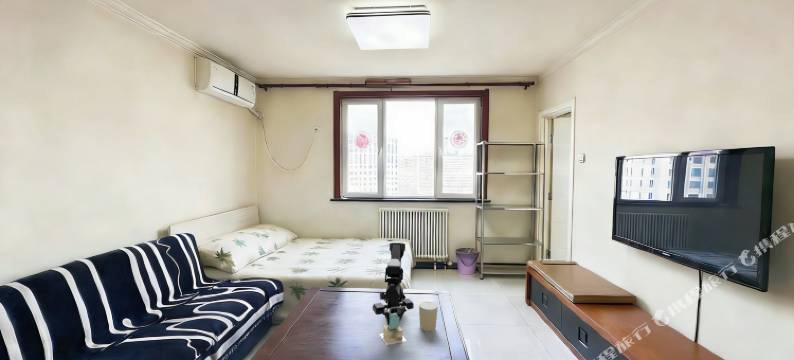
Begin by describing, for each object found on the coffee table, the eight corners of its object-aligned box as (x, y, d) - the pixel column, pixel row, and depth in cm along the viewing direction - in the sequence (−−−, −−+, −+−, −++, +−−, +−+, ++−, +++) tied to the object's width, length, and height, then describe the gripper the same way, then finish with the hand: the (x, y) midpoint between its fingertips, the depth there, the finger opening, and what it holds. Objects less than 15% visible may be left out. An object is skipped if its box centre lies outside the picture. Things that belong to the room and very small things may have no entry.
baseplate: (398, 332, 156) (398, 330, 156) (406, 343, 147) (406, 341, 147) (379, 335, 152) (379, 333, 152) (386, 347, 143) (386, 345, 143)
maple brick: (396, 332, 154) (397, 323, 154) (402, 339, 148) (402, 330, 147) (383, 335, 152) (383, 325, 151) (388, 342, 145) (388, 333, 145)
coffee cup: (438, 326, 163) (439, 303, 162) (434, 335, 154) (435, 311, 153) (421, 322, 166) (421, 300, 165) (416, 331, 157) (416, 307, 156)
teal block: (395, 322, 152) (395, 312, 152) (399, 327, 148) (399, 317, 148) (386, 324, 151) (386, 314, 150) (390, 329, 146) (390, 318, 146)
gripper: (405, 282, 159) (404, 313, 160) (369, 287, 152) (368, 319, 153) (414, 291, 149) (413, 323, 150) (376, 297, 142) (376, 330, 143)
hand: (392, 323), depth 149 cm, fingers closed on teal block, 4 cm apart
